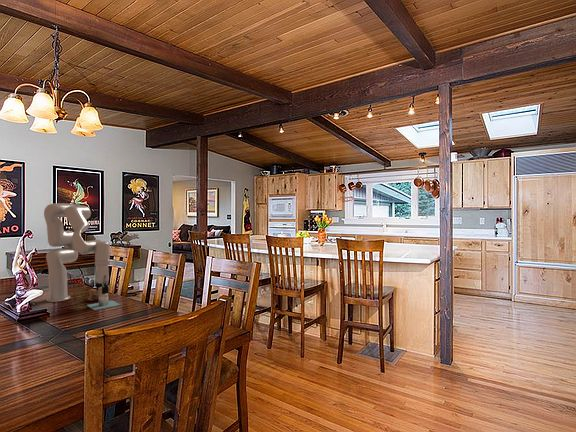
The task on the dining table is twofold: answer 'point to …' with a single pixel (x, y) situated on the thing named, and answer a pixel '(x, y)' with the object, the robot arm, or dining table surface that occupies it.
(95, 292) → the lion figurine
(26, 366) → the dining table surface
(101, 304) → the tube
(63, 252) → the robot arm
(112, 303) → the card
